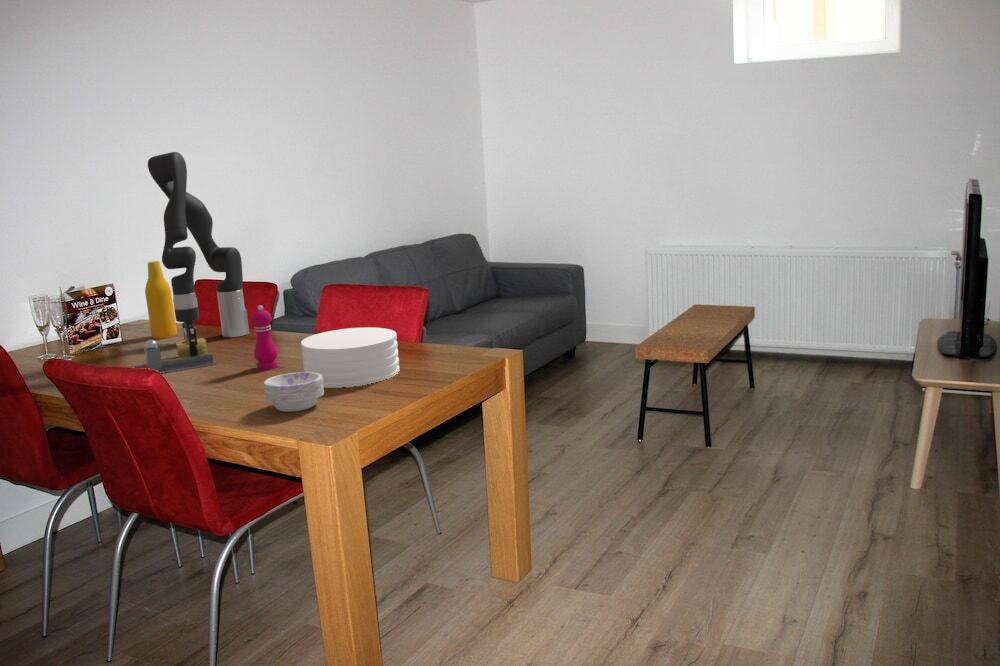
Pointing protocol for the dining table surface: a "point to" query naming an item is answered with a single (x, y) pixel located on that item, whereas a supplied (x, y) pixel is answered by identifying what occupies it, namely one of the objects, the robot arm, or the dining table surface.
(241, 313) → the robot arm
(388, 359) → the plate stack
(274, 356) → the pepper mill
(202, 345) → the yellow block
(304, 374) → the paper bowls
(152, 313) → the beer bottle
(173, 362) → the grey fixture stand
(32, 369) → the dining table surface
